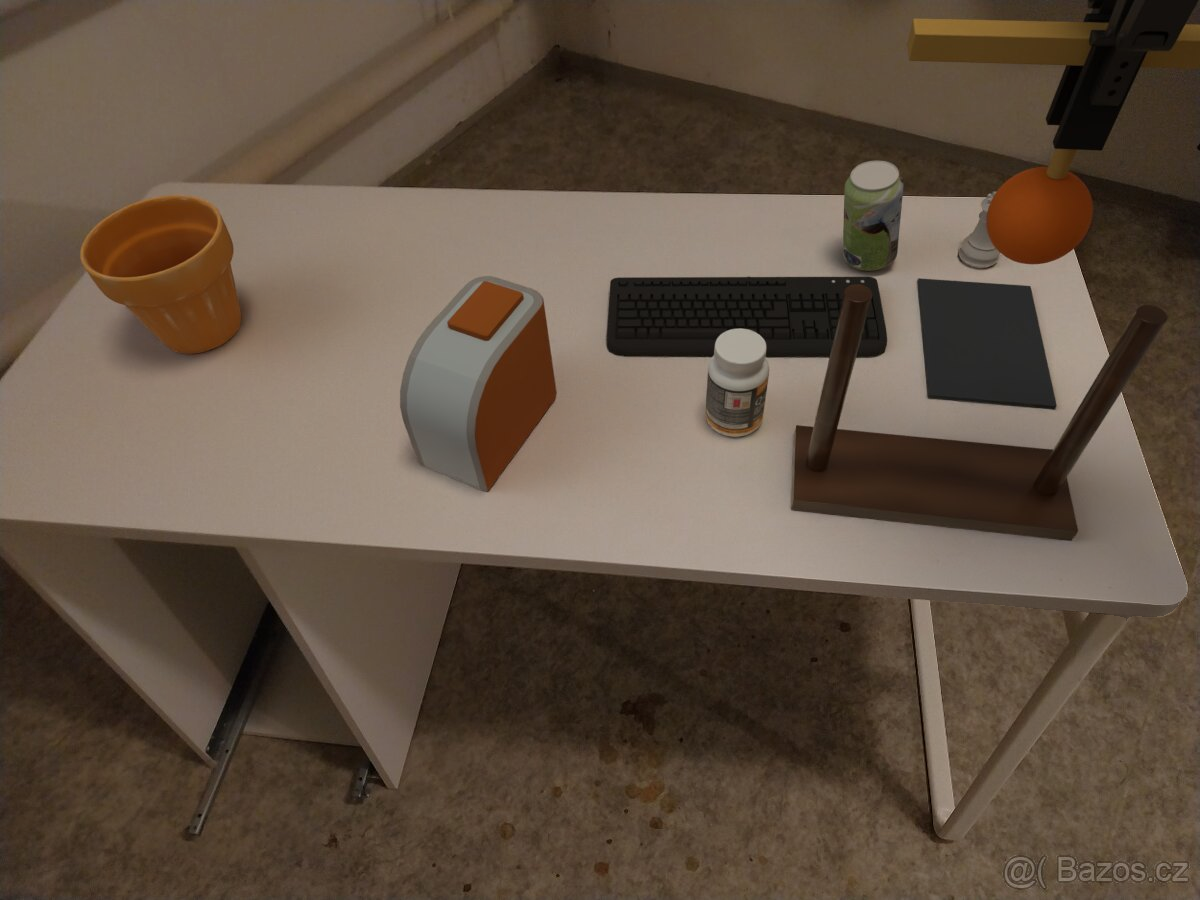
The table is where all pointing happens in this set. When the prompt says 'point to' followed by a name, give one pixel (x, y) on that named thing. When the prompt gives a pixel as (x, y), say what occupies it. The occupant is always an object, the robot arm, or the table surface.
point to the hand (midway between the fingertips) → (1073, 133)
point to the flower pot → (168, 269)
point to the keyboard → (735, 314)
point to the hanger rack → (950, 452)
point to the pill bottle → (737, 383)
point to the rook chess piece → (979, 242)
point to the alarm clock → (478, 381)
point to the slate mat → (983, 344)
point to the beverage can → (872, 215)
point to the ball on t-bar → (1053, 194)
